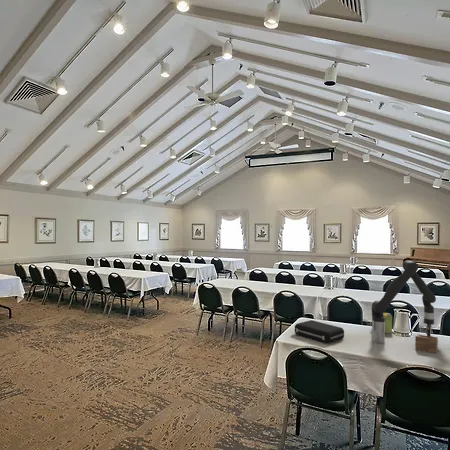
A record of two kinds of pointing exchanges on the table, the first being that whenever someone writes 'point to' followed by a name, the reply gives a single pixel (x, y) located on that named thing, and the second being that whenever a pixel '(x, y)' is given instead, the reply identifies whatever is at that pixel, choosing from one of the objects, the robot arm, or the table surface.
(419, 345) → the walnut box
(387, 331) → the protein box
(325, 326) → the briefcase
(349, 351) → the table surface
